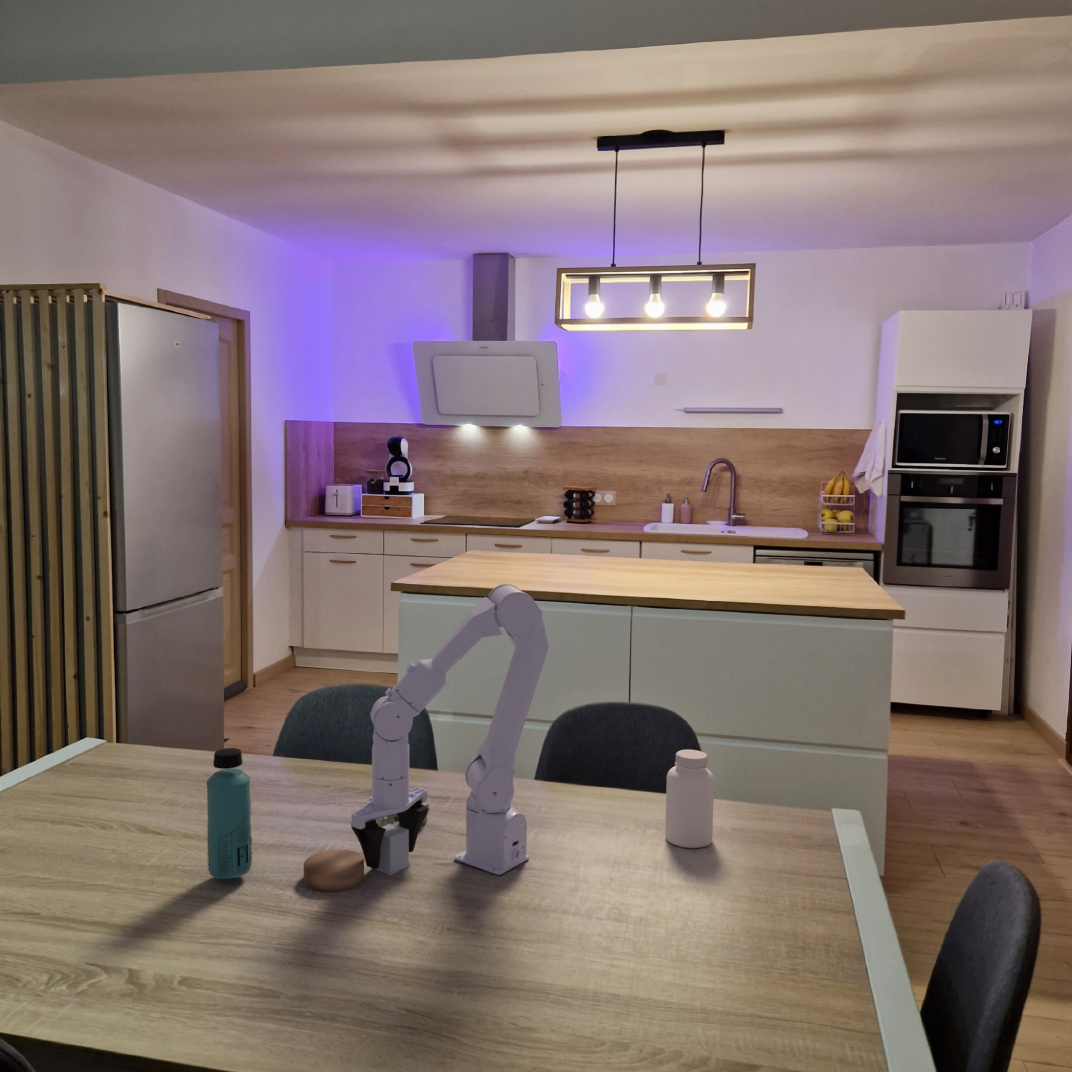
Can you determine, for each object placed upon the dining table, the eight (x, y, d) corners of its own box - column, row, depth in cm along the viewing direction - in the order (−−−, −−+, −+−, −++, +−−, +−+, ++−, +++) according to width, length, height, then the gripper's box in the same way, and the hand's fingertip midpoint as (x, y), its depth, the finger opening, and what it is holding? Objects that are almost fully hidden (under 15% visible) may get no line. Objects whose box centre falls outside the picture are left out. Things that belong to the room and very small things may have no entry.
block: (408, 866, 146) (408, 829, 146) (390, 875, 143) (390, 837, 143) (390, 859, 149) (390, 823, 148) (372, 868, 146) (372, 831, 145)
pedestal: (376, 875, 143) (376, 860, 143) (331, 897, 136) (331, 881, 135) (336, 859, 148) (336, 844, 148) (291, 880, 141) (291, 864, 141)
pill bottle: (709, 831, 162) (713, 747, 161) (714, 851, 154) (717, 763, 153) (664, 828, 163) (666, 745, 161) (665, 848, 155) (668, 760, 154)
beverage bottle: (238, 891, 137) (237, 759, 135) (198, 886, 138) (196, 755, 137) (260, 872, 143) (259, 745, 142) (221, 867, 145) (219, 742, 143)
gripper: (405, 756, 153) (404, 836, 154) (337, 781, 141) (337, 867, 142) (436, 766, 149) (436, 848, 150) (370, 791, 137) (370, 880, 138)
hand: (390, 858), depth 146 cm, fingers open, 7 cm apart
